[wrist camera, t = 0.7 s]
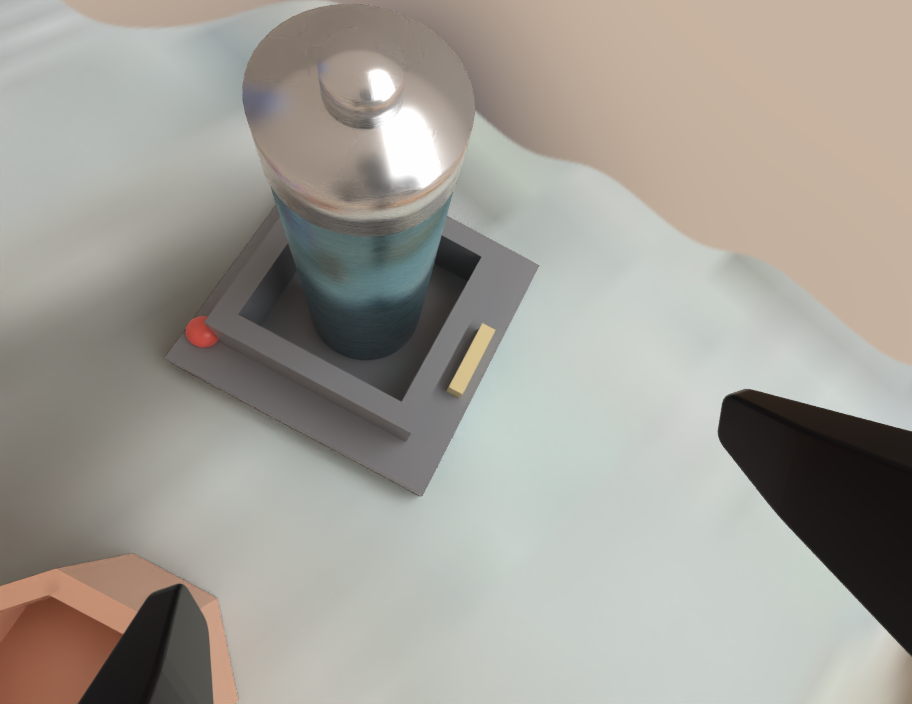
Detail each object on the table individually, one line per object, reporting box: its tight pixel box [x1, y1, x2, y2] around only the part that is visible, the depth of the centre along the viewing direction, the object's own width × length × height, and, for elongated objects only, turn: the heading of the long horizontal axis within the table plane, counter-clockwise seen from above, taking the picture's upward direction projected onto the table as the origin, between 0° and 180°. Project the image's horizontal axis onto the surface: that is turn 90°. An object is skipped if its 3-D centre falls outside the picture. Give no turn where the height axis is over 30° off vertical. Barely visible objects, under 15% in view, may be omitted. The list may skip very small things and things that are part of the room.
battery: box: [242, 4, 475, 360], centre depth 16 cm, size 4×4×13 cm
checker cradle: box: [165, 205, 539, 496], centre depth 21 cm, size 11×11×4 cm
